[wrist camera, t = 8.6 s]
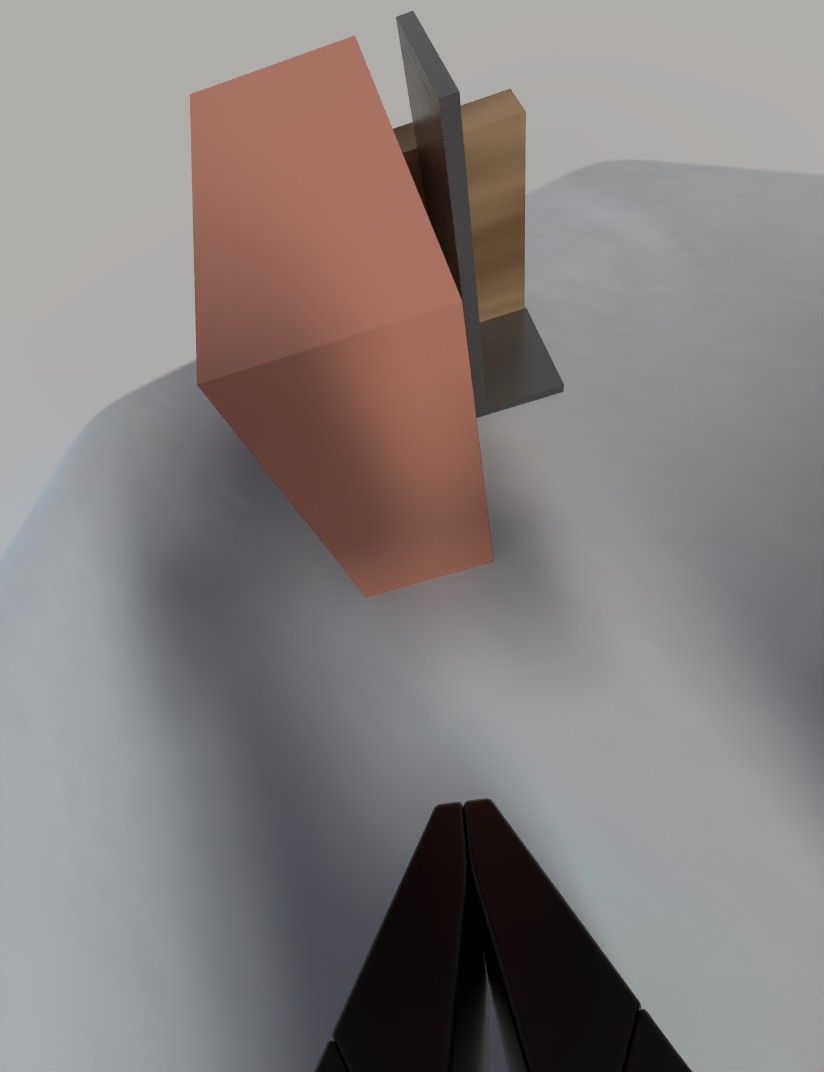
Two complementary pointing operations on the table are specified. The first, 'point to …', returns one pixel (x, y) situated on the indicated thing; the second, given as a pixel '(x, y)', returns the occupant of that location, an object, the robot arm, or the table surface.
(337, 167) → the book box
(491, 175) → the shelf wall
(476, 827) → the robot arm
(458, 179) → the bookend
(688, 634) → the table surface
